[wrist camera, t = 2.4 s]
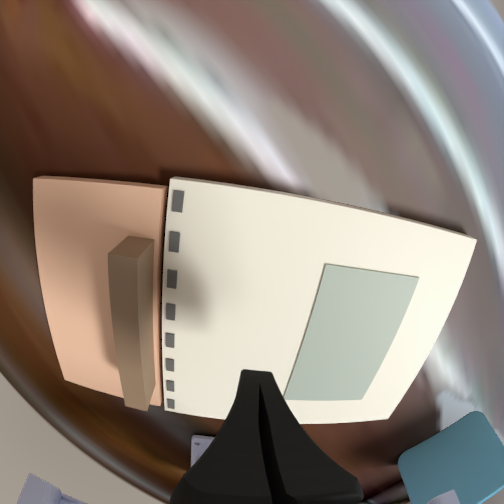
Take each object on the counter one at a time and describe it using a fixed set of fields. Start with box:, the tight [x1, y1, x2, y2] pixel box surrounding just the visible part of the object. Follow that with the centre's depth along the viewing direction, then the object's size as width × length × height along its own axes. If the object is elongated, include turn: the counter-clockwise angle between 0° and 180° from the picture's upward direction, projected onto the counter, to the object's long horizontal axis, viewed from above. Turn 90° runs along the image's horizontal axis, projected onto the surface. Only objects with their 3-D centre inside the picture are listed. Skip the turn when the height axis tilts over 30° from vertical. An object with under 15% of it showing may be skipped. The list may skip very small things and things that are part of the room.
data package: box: [398, 411, 504, 504], centre depth 19 cm, size 12×4×12 cm, turn 118°
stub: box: [33, 176, 168, 411], centre depth 14 cm, size 15×8×4 cm, turn 171°
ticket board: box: [162, 176, 477, 424], centre depth 17 cm, size 16×18×1 cm
